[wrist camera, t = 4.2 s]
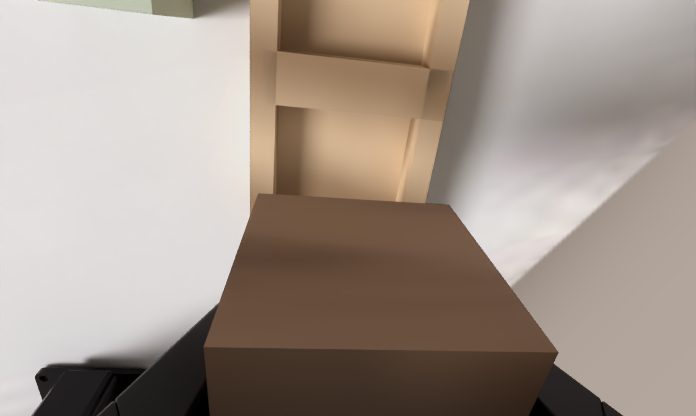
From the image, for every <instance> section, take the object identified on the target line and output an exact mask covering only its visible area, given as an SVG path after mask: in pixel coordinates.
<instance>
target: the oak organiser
mask: <svg viewBox="0 0 696 416" xmlns="http://www.w3.org/2000/svg"><path fill="white" fill-rule="evenodd" d="M469 2H470V0H250V215H251V212H252V209H253V206H254V204H255V201H256V198H257V195H258V193H263V194H280V195H296V196H313V197H329V198H346V199H362V200H379V201H395V202H412V203H425V202H426V198H427V193H428V189H429V184H430V180H431V175H432V170H433V166H434V161H435V157H436V152H437V148H438V143H439V139H440V134H441V129H442V125H443V120H444V116H445V111H446V107H447V102H448V98H449V93H450V88H451V84H452V79H453V75H454V70H455V66H456V61H457V57H458V52H459V47H460V43H461V38H462V34H463V29H464V25H465V20H466V16H467V11H468V6H469Z"/></svg>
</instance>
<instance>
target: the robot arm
mask: <svg viewBox="0 0 696 416" xmlns="http://www.w3.org/2000/svg"><path fill="white" fill-rule="evenodd" d="M218 305H219V303H218V304H217V305H216V306H215V307H214V308H213V309H212V310H211V311H209V312H208V313H207V314H206V315H205V316H204V317H203V318H202V319H201V320H200V321H199V322H198V323H197V324H195V325H194V326H193V327H192V328H191V329H190V330H189V331H188V332H187V333H186V334H185V335H184V336H183V337H181V338H180V339H179V340H178V341H177V342H176V343H175V344H174V345H173V346H172V347H171V348H170V349H169V350H168V351H166V352H165V353H164V354H163V355H162V356H161V357H160V358H159V359H158V360H157V361H156V362H155V363H154V364H152V365H151V366H150V367H149V368H148V369H147V370H144V369H128V368H42V369H40V370H39V372H38V373H37V374H36V376H35V380H36V383H37V386H38V389H39V391H40V394H41V397H42V400H43V401H42V402H41V403H40V405H39V406H38V407H37V409H36V410H35V411H34V413H33V414H32V416H210V411H209V401H208V390H207V379H206V369H205V358H204V344H205V341H206V339H207V336H208V333H209V330H210V327H211V325H212V322H213V319H214V316H215V313H216V311H217V308H218ZM529 416H622V415H621V414H620V413H618V412H617V411H616V410H614V409H613V408H612V407H611V406H609V405H608V404H607V403H605V402H601V400H600V398H599V397H597V396H596V395H594V394H593V393H592V392H591V391H589V390H588V389H587V388H585V387H584V386H583V385H581V384H580V383H578V382H577V381H576V380H575V379H573V378H572V377H571V376H569V375H568V374H567V373H565V372H564V371H563V370H561V369H560V368H559V367H557V366H556V365H555V364H553V365H552V367H551V369H550V372H549V374H548V376H547V378H546V380H545V382H544V384H543V386H542V388H541V391H540V393H539V395H538V397H537V399H536V401H535V403H534V405H533V407H532V410H531V412H530V414H529Z"/></svg>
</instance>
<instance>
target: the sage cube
mask: <svg viewBox="0 0 696 416" xmlns="http://www.w3.org/2000/svg"><path fill="white" fill-rule="evenodd" d="M39 1H47V2H55V3H63V4H72V5H80V6H88V7H96V8H104V9H112V10H120V11H128V12H137V13H145V14H153V15H163V16H172V17H182V18H192V19H194V16H193V0H39Z"/></svg>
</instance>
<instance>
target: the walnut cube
mask: <svg viewBox="0 0 696 416" xmlns="http://www.w3.org/2000/svg"><path fill="white" fill-rule="evenodd" d="M557 355H558V351H557V350H556V348H555V347H554V346H553V344H552V343H551V342H550V340H549V339H548V338H547V336H546V335H545V334H544V332H543V331H542V330H541V328H540V327H539V326H538V324H537V323H536V321H535V320H534V319H533V317H532V316H531V315H530V313H529V312H528V311H527V310H526V308H525V307H524V305H523V304H522V303H521V301H520V300H519V299H518V297H517V296H516V294H515V293H514V292H513V290H512V289H511V288H510V286H509V285H508V284H507V282H506V281H505V280H504V278H503V277H502V276H501V274H500V273H499V271H498V270H497V269H496V267H495V266H494V265H493V263H492V262H491V261H490V259H489V258H488V257H487V255H486V254H485V253H484V251H483V250H482V249H481V247H480V246H479V245H478V243H477V242H476V240H475V239H474V238H473V236H472V235H471V234H470V232H469V231H468V230H467V228H466V227H465V226H464V224H463V223H462V222H461V220H460V219H459V218H458V216H457V215H456V213H455V212H454V211H453V209H452V208H451V207H450V205H445V204H428V203H412V202H395V201H379V200H362V199H346V198H329V197H313V196H296V195H280V194H263V193H258V195H257V198H256V201H255V204H254V206H253V209H252V212H251V215H250V218H249V220H248V223H247V226H246V229H245V232H244V235H243V237H242V240H241V243H240V246H239V249H238V251H237V254H236V257H235V260H234V263H233V265H232V268H231V271H230V274H229V277H228V280H227V282H226V285H225V288H224V291H223V294H222V296H221V299H220V302H219V305H218V308H217V311H216V313H215V316H214V319H213V322H212V325H211V327H210V330H209V333H208V336H207V339H206V341H205V344H204V358H205V369H206V379H207V390H208V401H209V411H210V416H529V414H530V412H531V410H532V407H533V405H534V403H535V401H536V399H537V397H538V395H539V393H540V391H541V388H542V386H543V384H544V382H545V380H546V378H547V376H548V374H549V372H550V369H551V367H552V365H553V363H554V361H555V359H556V357H557Z"/></svg>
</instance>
